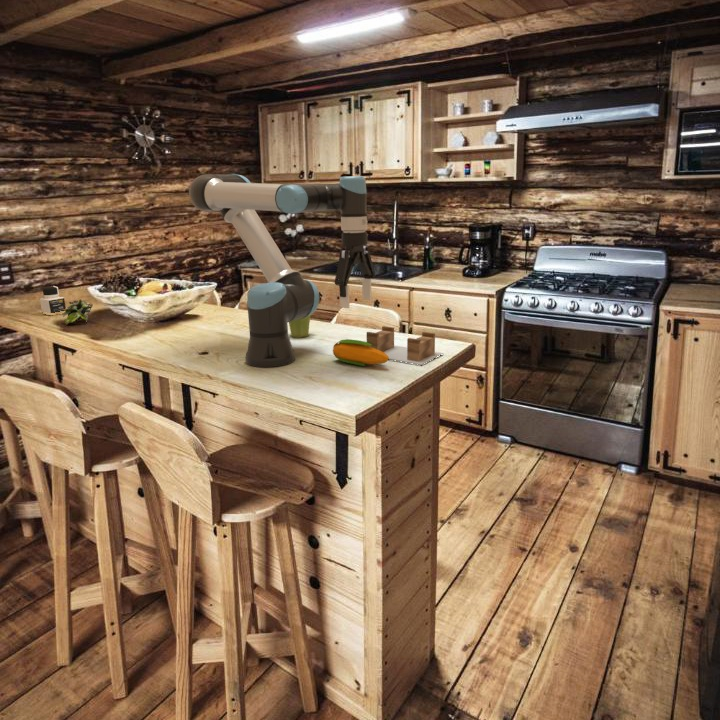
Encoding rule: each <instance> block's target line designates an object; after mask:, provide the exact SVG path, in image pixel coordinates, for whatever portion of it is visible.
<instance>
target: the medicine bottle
mask: <svg viewBox="0 0 720 720" xmlns="http://www.w3.org/2000/svg"><path fill="white" fill-rule="evenodd" d="M42 294H43V297H40V298H39V303H40V307H41V313H42V312H47V313H55V312H60V311H65V310H64V309H67V308H66V307H67V305H66V300H65V297H64V296H60V291H59V287H58V286H55V285H49V286H44V287H43V288H42Z"/></svg>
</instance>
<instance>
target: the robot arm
mask: <svg viewBox="0 0 720 720" xmlns="http://www.w3.org/2000/svg"><path fill="white" fill-rule="evenodd" d="M366 180H367V179H366V178H365V177H364V176H362V175H352V176H346V175H345V176H341V177H340V178H339V182H338V183H335V184H334V183H333V184H331V183H315V184H282V183H281V184H280V183H260V182H259V183H258V182H256V183H255V182H251V181H250V179H248V178H247V177H246V176H244V175H241V174H236V173H228V174H227V173H226V174H213V173H212V174H209V173H207V174H201V175H199V176H197V177H195V178H194V179H193V180H192V181H191V183H190V185H189V188H188V195H189V200H190V201H191V203H192V204H193V206H194V207H195V208H196V209H198V210H199V211H201V212H205V213H220V216H221V217H222V218H223V220H224V221H225V222H226V223H228V224H232V226H233V227H234V228H235V230H236V232H237V234H238V235H239V237H240V238H241V240H242V242H243V244H244V245H245V246H246V248H247V250H248V251H249V253H250V254H251V256H252V258H253V259H254V261H255V263H256V264H257V266H258V268H259V269H260V271H261V272H262V274H263V276H264V277H265V280H267V282H266V283H259V284H256V285H254V286H252V287H250V288H249V289H248V291H247V294H246V295H247V299H246V305H247V315H248V329H249V341H248V346H247V351H246V353H245V363H246V364H247V365H249V366H252V367H256V368H257V367H258V368H273V367H274V368H275V367H281V366H286V365H289V364H291V363H293V362H294V361H295V359H296V352H295V350H294V348H293V347H292V342H291V339H290V337H289V330H288V329H289V322H291V321H294V320H297V319H302V318H305V317H307V316H309V315H311V316H312V315H313V314H314V313H315V312H316V311H317V309H318V307H319V303H320V302H319V301H320V293H319V289H318V288H317V286H316V283H315V284H314V282H312V281H311V280H307V279H304V278H303V276H302V275H301V273H300V271H298V270H295V269H292V268H291V266H290V265H289V262H288V261H287V260H286V258H285V257H284V254H283V253H282V252H281V250H280V248H279V246H278V245H277V244H276V242H275V241H274V239H273V236H271V233H270V232H269V231H268V229H267V228H266V225H265V224H264V223H263V221H262V220H261V218H260V216H259V215H258V213H257V211H267V212H269V211H270V212H283V213H285V214H292V215H293V214H295V215H296V214H300V213H312V212H313V213H314V212H326V211H328V212H329V211H332V212H333V211H339V212H340V229H341V231H342V233H341V245H342V246H344V247H345V250H342V249H340V250H339V257H338V258H339V259H338V264H337V269H336V271H335V272H336V273H335V278H334V285H335V286H339V305H340V306H339V307H340V308H341V309H350V308H351V307H350V285H348V284H349V280H350V278H351V274H352V271H353V269H354V267H355V266H356V265H357V267H358V268H359V272H361V274H362V277H363V278H361V282H362V283H361V286H362V288H361V289H362V301H363V300H364V301H372V279H375V275H376V272H375V268H374V264H373V260H372V257H371V254H370V251H371V250H370V246H367V245H368V243H369V242H368V233H367V230H368V216H367V193H368V192H367V184H366V183H367V182H366Z"/></svg>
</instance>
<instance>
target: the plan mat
mask: <svg viewBox="0 0 720 720" xmlns="http://www.w3.org/2000/svg"><path fill="white" fill-rule="evenodd" d="M384 353H385V354H387V355H388V357H389V358H388V359H389V360H388V361H390V360H396V361H402V362H407V363H413V364H418V365H422V366H424V365H425V364H424V363H426V362H428V361H430V360H432V359H434V358H436V357H437V356H439V355H441V354H443V355H444V352H438V351H435V354H433V355H431V356H429V357H427V358H425V359H423V360H421V361H413V360H407V346H401V345H395V344H394V348H391V349H389V350H386V351H384ZM436 359H437V358H436ZM434 360H435V359H434ZM432 361H433V360H432ZM430 362H431V361H430ZM407 363H406V364H407ZM428 363H429V362H428ZM423 364H424V365H423ZM426 364H427V363H426ZM418 365H417V366H418Z"/></svg>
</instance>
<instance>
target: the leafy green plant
mask: <svg viewBox="0 0 720 720" xmlns="http://www.w3.org/2000/svg"><path fill="white" fill-rule="evenodd" d="M68 303H69V305H68V306H67V308H66V309H64V310H65V312H64V313H62V314H61V315H62V317H63V318H64V317H65V316H67V317H66V319H65V321H64V324H65V323H66V324H67V325H68V324H70V323H71V324H72V323H74V322H76V321H75V320H76V319H79V320H82V319H83V320H85V323H86V322H87V323H88V318H89V314H90V313H91V309H92V308H93V305H94V304H93V303H91V302H86V301H84V300H82V299H78V300H75V299H74V300H72V301H69V302H68ZM86 313H87V314H86Z"/></svg>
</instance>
